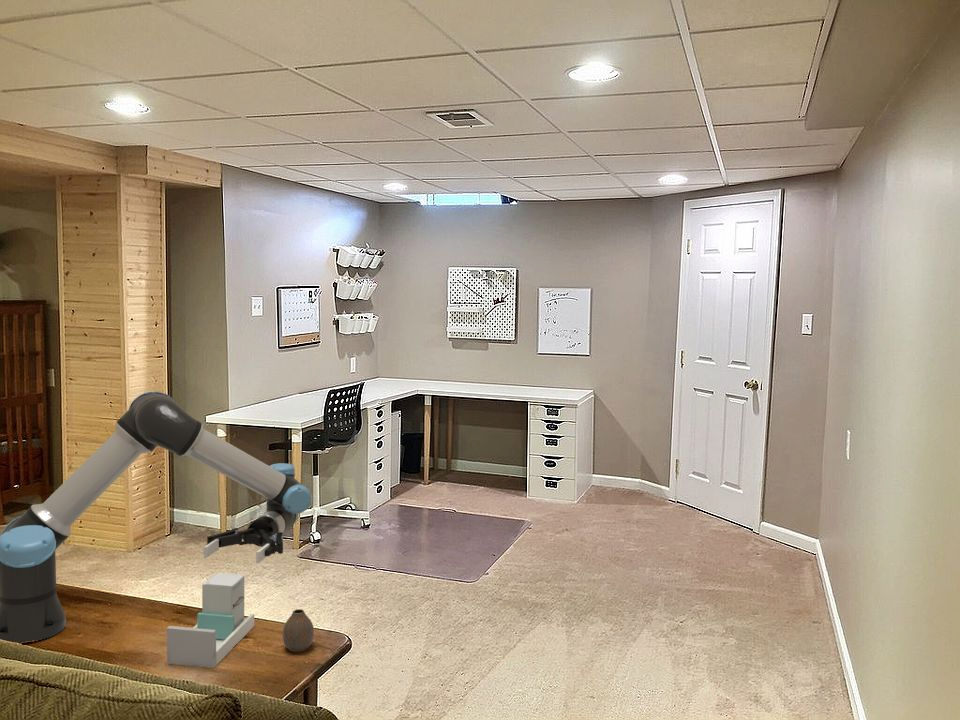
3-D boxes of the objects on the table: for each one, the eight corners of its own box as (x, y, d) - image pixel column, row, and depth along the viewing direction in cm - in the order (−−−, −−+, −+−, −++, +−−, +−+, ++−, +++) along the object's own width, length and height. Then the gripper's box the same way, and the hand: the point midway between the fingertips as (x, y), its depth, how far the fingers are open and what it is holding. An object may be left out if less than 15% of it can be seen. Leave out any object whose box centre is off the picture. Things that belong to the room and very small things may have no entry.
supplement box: (231, 639, 182) (231, 586, 180) (201, 636, 183) (200, 583, 181) (245, 625, 189) (245, 574, 188) (216, 622, 190) (215, 572, 189)
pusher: (199, 635, 183) (199, 612, 182) (234, 638, 182) (234, 615, 181) (197, 637, 182) (197, 614, 181) (232, 640, 181) (232, 617, 180)
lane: (212, 622, 191) (212, 590, 190) (254, 626, 190) (254, 593, 189) (167, 663, 171) (166, 628, 170) (213, 668, 169) (213, 632, 168)
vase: (302, 657, 175) (303, 619, 174) (276, 652, 177) (276, 614, 176) (319, 644, 181) (319, 608, 181) (293, 639, 184) (294, 602, 183)
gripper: (309, 546, 214) (279, 574, 193) (222, 538, 217) (183, 565, 196) (310, 519, 213) (280, 544, 192) (222, 512, 216) (183, 535, 195)
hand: (231, 555), depth 194 cm, fingers open, 13 cm apart
